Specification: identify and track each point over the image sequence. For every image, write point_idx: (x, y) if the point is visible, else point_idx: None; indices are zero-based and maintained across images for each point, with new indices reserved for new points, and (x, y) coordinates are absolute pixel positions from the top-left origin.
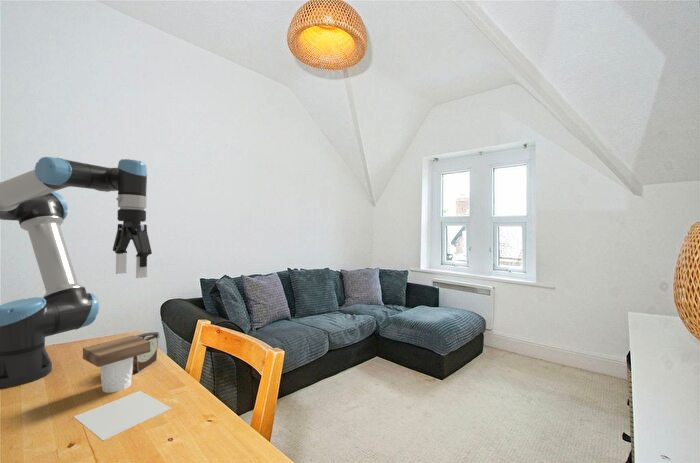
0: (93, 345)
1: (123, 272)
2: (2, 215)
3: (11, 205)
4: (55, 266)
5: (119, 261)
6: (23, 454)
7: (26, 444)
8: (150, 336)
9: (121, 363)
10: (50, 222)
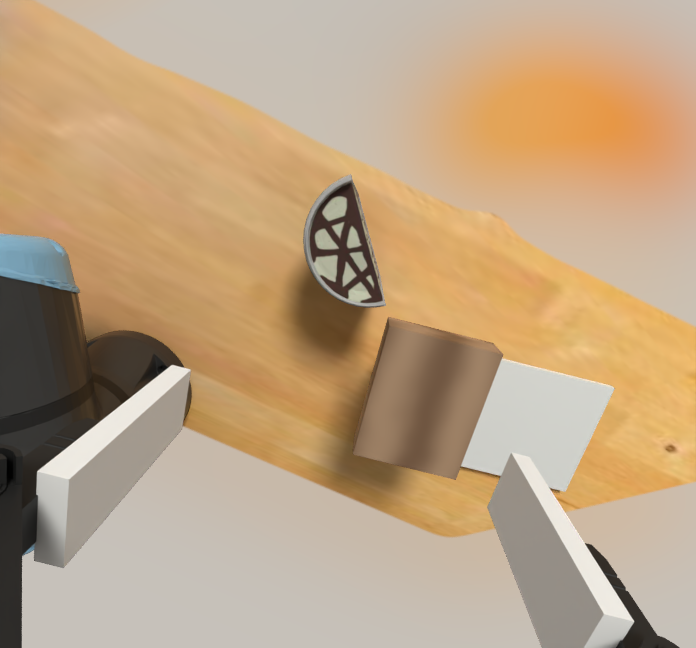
0: (360, 433)
1: (184, 391)
2: None
3: None
4: None
5: (125, 481)
6: (464, 530)
7: (441, 516)
8: (342, 210)
9: None
10: None
